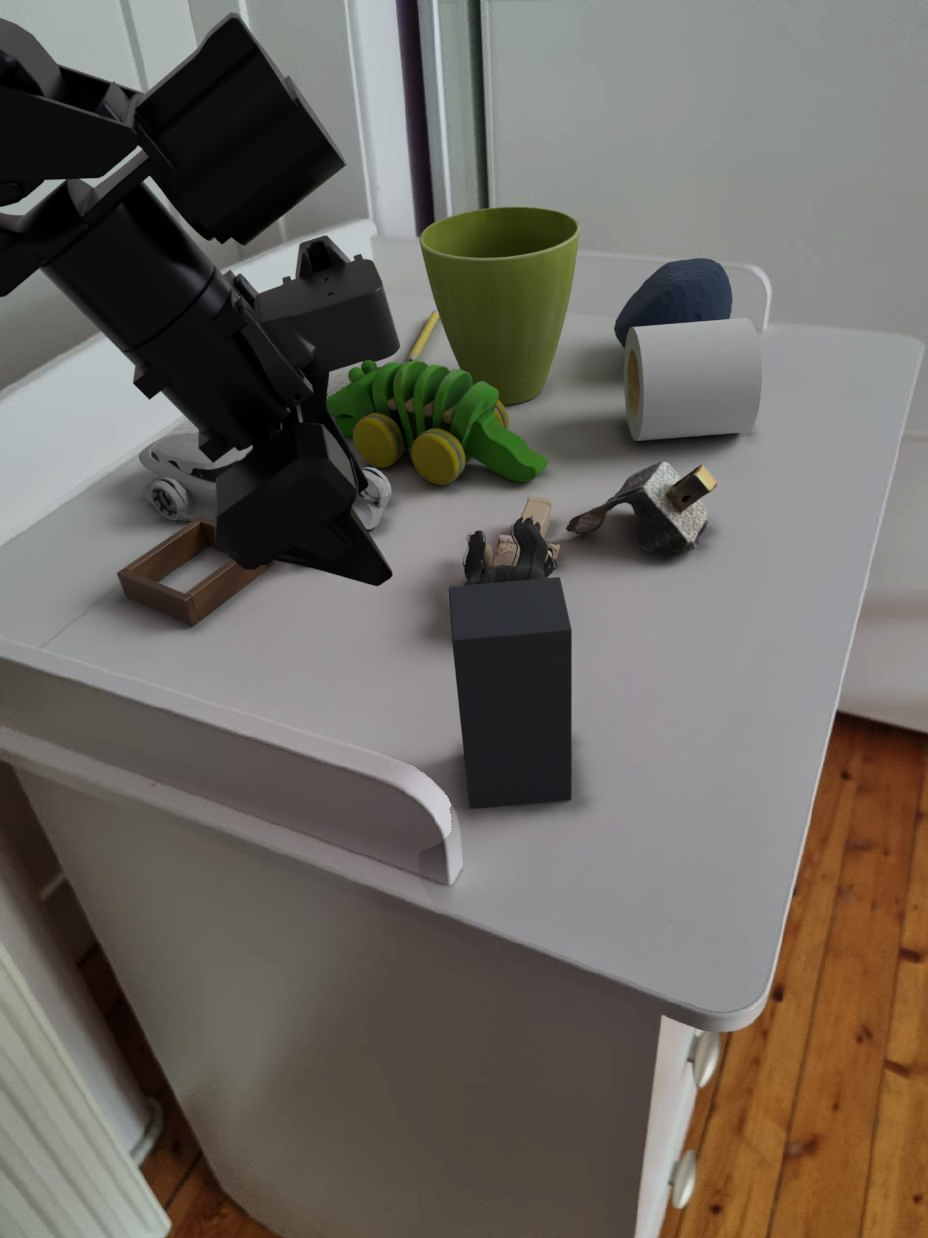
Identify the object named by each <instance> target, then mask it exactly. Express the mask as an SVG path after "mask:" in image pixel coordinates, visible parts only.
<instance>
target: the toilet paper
mask: <svg viewBox="0 0 928 1238" xmlns="http://www.w3.org/2000/svg"><path fill="white" fill-rule="evenodd" d="M623 361H624V362H623V385H624V386H623V387H624V402H625V412H626V418H627V424H628V425H627V426H628V429H629V432H630V436H631V438H632V440H634V441H635V442H637V441H638V442H639V441H640V442H641V441H654V440H664V439H665V440H666V439H677V438H678V439H679V438H680V439H681V438H689V437H690V438H691V437H703V436H704V437H705V436H715V435H716V436H717V435H728V434H729V435H730V434H740V433H743V434H744V433H749V432H750V431H751V430H752V428H753V427H754V425H755V423H756V420H757V417H758V415H759V414H758V413H759V410H760V405H761V398H762V397H761V395H762V385H763V384H762V380H763V379H762V377H763V374H762V373H763V371H762V369H763V368H762V355H761V348H760V342H759V338H758V334H757V331H756V328H755V326H754V324H753V322H752V321H751V320H750V319H749V318H747V317H741V318H730V319H726V320H714V321H702V322H690V323H677V324H665V325H653V326H641V327H631V328H630V329H629V331H628V334H627V339H626V346H625V348H624V358H623Z"/></svg>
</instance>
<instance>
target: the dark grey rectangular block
mask: <svg viewBox="0 0 928 1238" xmlns="http://www.w3.org/2000/svg"><path fill="white" fill-rule="evenodd" d="M463 585H464V584H463ZM463 585H461V586H460V585H455V586H449V587H448V602H449V615H450V617H449V618H450V629H451V630H450V631H451V644H452V653H453V663H454V674H455V682H456V683H455V684H456V691H457V702H458V712H459V723H460V730H461V739H462V749H463V750H462V751H463V759H464V769H465V779H466V787H467V788H466V789H467V798H468V807H469V809H483V808H492V807H493V808H494V807H505V806H516V805H528V804H538V803H540V804H541V803H548V802H549V803H551V802H562V801H571V800H572V798H573V797H572V794H573V793H572V792H573V791H572V785H573V784H572V783H573V782H572V779H573V778H572V776H573V775H572V773H573V771H572V770H573V769H572V761H573V760H572V759H573V757H572V755H573V753H572V751H573V750H572V747H573V746H572V743H573V742H572V741H573V740H572V739H573V736H572V734H573V733H572V731H573V729H572V728H573V726H572V725H573V723H572V721H573V719H572V718H573V717H572V716H573V713H572V710H573V709H572V708H573V705H572V704H573V703H572V702H573V699H572V697H573V695H572V693H573V691H572V690H573V688H572V687H573V685H572V682H573V680H572V679H573V674H572V672H573V669H572V668H573V666H572V665H573V660H572V659H573V649H572V648H573V647H572V646H573V645H572V644H573V631H572V625H571V620H570V616H569V612H568V606H567V602H566V597H565V593H564V589H563V584H562V580H561V577H559V576H556V577H548V578H547V577H546V578H543V579H532V580H521V581H509V582H498V583H487V584H476V585H464V586H463Z"/></svg>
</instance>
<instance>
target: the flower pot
mask: <svg viewBox="0 0 928 1238" xmlns="http://www.w3.org/2000/svg"><path fill="white" fill-rule="evenodd" d="M580 231H581V226H580V222H578V220H577V219H576V218H575V217H573V216H572V215H569V214H567V213H565V212H561V211H559V210H555V209H549V208H544V207H536V206H535V207H534V206H497V207H489V208H488V207H487V208H481V209H475V210H470V211H465V212H460V213H456V214H453V215H449V216H447V217H445V218H442V219H439V220H437V221H435V222H433V223H431V224H430V225H428V226H427V227H426V228H425V229H424V230H423V231H422V232H421V234H420V235H419V245H420V250H421V255H422V258H423V262H424V267H425V271H426V275H427V279H428V283H429V286H430V290H431V293H432V297H433V300H434V304H435V306H436V310H438V313H439V319H440V323H441V325H442V326H443V327H442V328H443V330H444V333H445V336H446V339H447V341H448V344H449V346H450V349H451V351H452V353H453V356H454V359H455V361H456V363H457V365H458V368H459V369H460V370H463V371H466V372H468V373H469V374H470V375H471V377H472V383H473V385H474V384H476V383H478V382H480V381H484V382H486V383H487V384H489V385H490V386H492V387H494V388H495V389H497V390H498V392H499V395H498V400H499V401H500V402H501V403H502V404H503V406H511V405H517V404H523V403H526V402H529V401H531V400H533V399H535V398H536V397H538V396H539V395H540V394H541V393H542V391H543V389H544V387H545V384H546V381H547V378H548V376H549V373H550V370H551V367H552V364H553V361H554V358H555V356H556V352H557V349H558V345H559V343H560V338H561V335H562V332H563V328H564V324H565V320H566V315H567V312H568V307H569V303H570V299H571V293H572V288H573V282H574V276H575V271H576V270H575V269H576V265H577V257H578V249H579V240H580ZM473 385H472V386H473Z"/></svg>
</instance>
